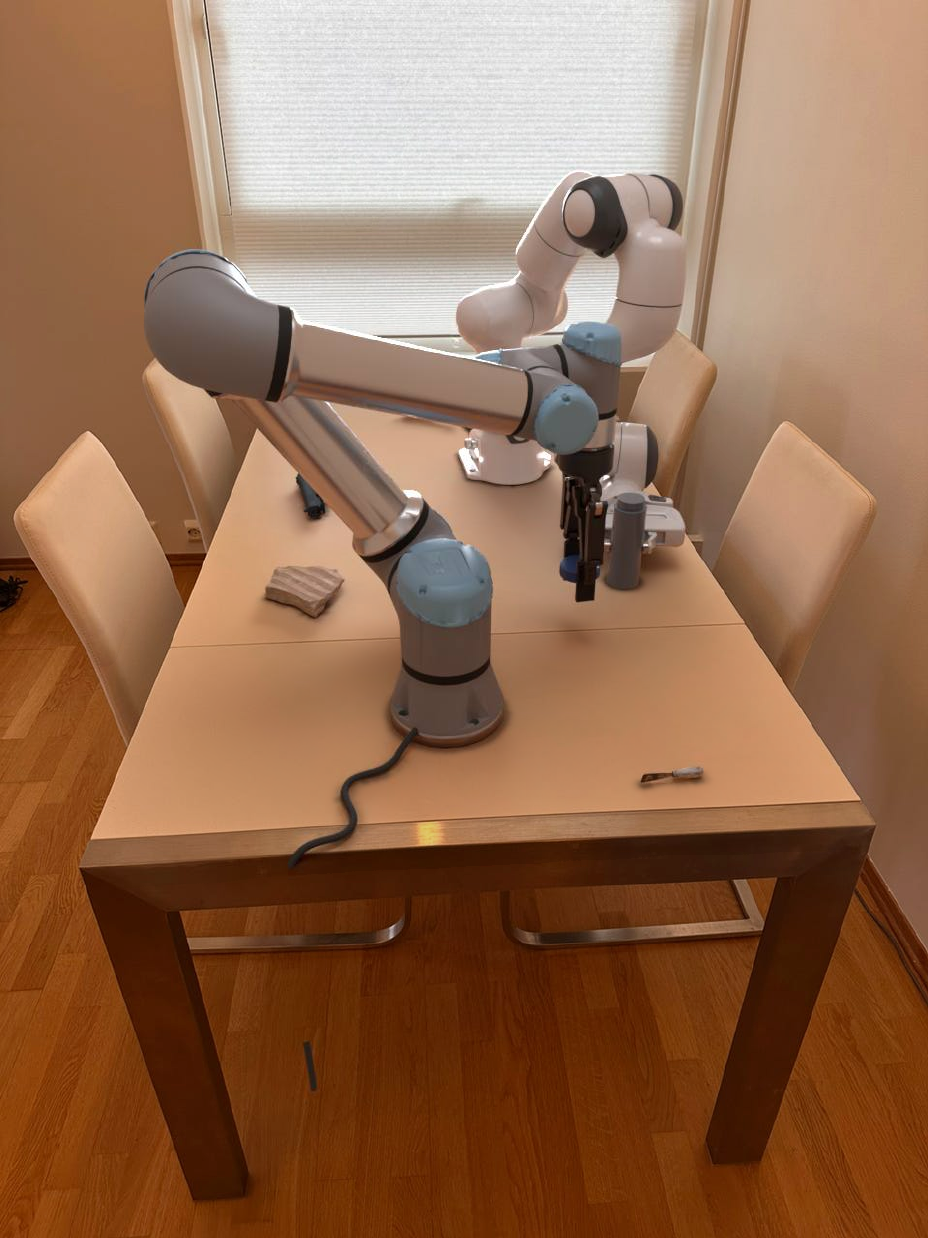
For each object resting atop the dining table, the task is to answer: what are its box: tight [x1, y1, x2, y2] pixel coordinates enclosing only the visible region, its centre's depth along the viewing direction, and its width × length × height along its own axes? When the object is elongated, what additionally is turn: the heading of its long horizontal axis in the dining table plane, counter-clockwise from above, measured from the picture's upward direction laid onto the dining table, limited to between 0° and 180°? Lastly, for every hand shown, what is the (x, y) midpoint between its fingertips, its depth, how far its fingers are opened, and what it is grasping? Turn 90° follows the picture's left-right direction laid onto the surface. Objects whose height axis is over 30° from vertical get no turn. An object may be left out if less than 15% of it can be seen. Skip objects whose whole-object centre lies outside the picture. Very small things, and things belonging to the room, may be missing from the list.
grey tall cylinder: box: [606, 493, 647, 590], centre depth 147 cm, size 5×5×15 cm
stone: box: [264, 565, 345, 618], centre depth 147 cm, size 13×12×3 cm
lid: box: [558, 555, 601, 584], centre depth 132 cm, size 6×6×2 cm
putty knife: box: [640, 765, 705, 784], centre depth 109 cm, size 1×8×2 cm, turn 103°
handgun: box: [295, 472, 326, 519], centre depth 179 cm, size 3×18×12 cm
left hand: (578, 589), depth 133 cm, fingers closed on lid, 6 cm apart
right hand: (626, 549), depth 147 cm, fingers closed on grey tall cylinder, 5 cm apart
